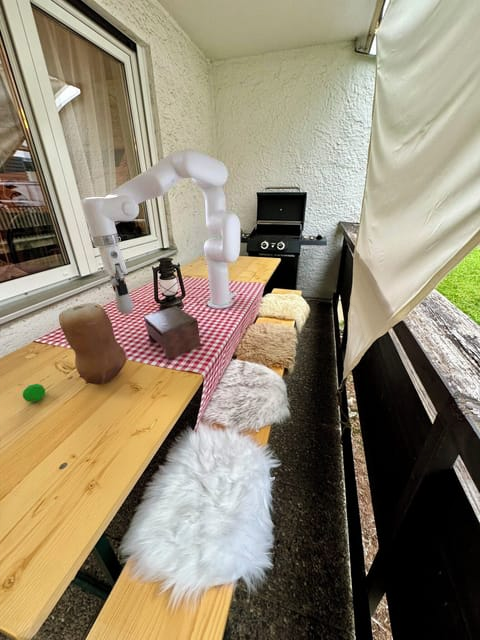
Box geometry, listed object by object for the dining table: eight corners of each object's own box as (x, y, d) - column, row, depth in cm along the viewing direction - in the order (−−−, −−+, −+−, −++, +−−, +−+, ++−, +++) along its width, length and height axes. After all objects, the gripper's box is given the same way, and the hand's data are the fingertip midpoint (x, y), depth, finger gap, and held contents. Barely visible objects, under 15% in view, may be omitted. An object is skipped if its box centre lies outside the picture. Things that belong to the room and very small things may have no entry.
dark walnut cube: (179, 329, 106) (175, 305, 101) (200, 345, 95) (197, 319, 90) (149, 341, 99) (143, 316, 94) (168, 360, 88) (163, 333, 83)
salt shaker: (129, 315, 92) (119, 281, 86) (115, 314, 93) (104, 281, 87) (138, 308, 97) (129, 275, 91) (124, 307, 98) (114, 275, 92)
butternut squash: (98, 363, 88) (73, 296, 76) (136, 363, 87) (117, 295, 75) (73, 393, 75) (39, 318, 63) (118, 393, 75) (92, 318, 63)
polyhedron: (24, 408, 71) (17, 395, 69) (29, 396, 75) (22, 383, 73) (46, 402, 73) (39, 389, 71) (49, 390, 77) (43, 378, 74)
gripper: (126, 241, 79) (140, 296, 88) (110, 234, 90) (124, 283, 99) (101, 246, 75) (118, 303, 84) (86, 238, 86) (103, 289, 95)
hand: (121, 292), depth 91 cm, fingers closed on salt shaker, 4 cm apart
